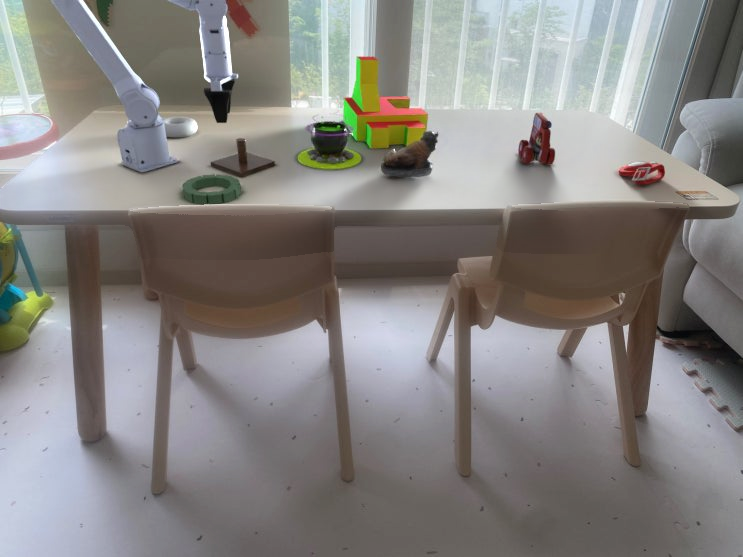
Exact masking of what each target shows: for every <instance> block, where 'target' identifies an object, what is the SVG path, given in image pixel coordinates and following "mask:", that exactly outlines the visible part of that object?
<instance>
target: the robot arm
mask: <svg viewBox="0 0 743 557" xmlns="http://www.w3.org/2000/svg"><path fill="white" fill-rule="evenodd" d="M50 2H51V3H52V4H53V6H54V7H55V8H56V10H57V11H58V13H60V15H61V17H62V19H64V21H65V22H66V23H67V25H68V26H69V28H70V29H71V30H72V31H73V33H74V35H76V37H77V38H78V39H79V41H80V42H81V44H82V45H83V47H85V49H86V50H87V52H88V53H89V55H90V56H91V57H92V58H93V60H94V62H95V63H96V64H97V65H98V67H99V68H100V69H101V70H102V72H103V74H104V75H105V76H106V77H107V79H108V80H109V81H110V83H111V84H112V86H113V88H114V89H115V90H114V91H115V93H116V95H117V97H118V99H119V101H121V103H122V105H123V108H124V112H125V115H126V117H127V125H125V126H124V127H122V128H119V129H118V131H117V134H116V135H117V137H116V138H117V143H118V146H119V151H120V156H121V160H122V161H121V162H120V164H121V165H122V166H125V167H127V168H129V169H132V170H134V171H137V172H139V173H146V172H150V171H152V170H156V169H159V168H163V167H166V166H169V165H172V164H176V163H179V162H180V161H179V159H178V158H175V157H172V156H171V155H170V149H169V145H168V144H169V143H168V139H167V138H168V137H166V132H165V126H164V120H163V119H164V118H163V117H162V116H161V115H160V114H159V108H160V105H161V102H160V98H159V95H158V92H156V91H155V90H154V89H153V88H151V87H149V86H148V85H146V84H145V82H144V81H143V79H142V78H141V77H140V76H139V75H137V73H135V72H134V70H133V69H132V67H131V66H130V65H129V63H128V62H127V60H126V59H125V58H124V56H123V55H122V54H121V52H120V50H119V49H118V48H117V46H116V45H115V43H114V42H113V40H112V39H111V38H110V36H109V35H108V34H107V31H106V30H105V29H104V28H103V27H102V25H101V24H100V22H99V21H98V19H97V18H96V16H95V15H94V13H93V12H92V10H90V8H89V6H88V5H87V3H86V2H85V1H84V0H50ZM167 2H169V3H172V4H175V5H177V6H179V7H181V8H184V9H186V10H188V11H197V13H198V18H199V28H198V30H199V37H200V38H199V39H200V46H201V55H202V56H201V57H202V64H203V72H204V73H203V78H204V79H205V80H206V81H207V83H208V84H209V85H210V87H209V88H208V87H205V88H203V94H204V96H205V97H206V99H207V101H208V102H209V105H210V107H211V110H212V113H213V116H214V119H215V122H216V124H227V122H228V116H229V115H228V114H230V112H231V103H232V94H233V88H234V85H235V82H236V79H239V73H233V67H232V56H231V45H230V44H231V43H230V35H229V34H230V33H229V28H228V26H227V24H228V20H227V19H228V18H227V17H226V14H227V13H228V4H227V2H226V0H167Z"/></svg>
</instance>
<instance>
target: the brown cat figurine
mask: <svg viewBox="0 0 743 557" xmlns="http://www.w3.org/2000/svg"><path fill="white" fill-rule="evenodd" d="M438 137H439V131H436V132H434V131H433V130H427V131H426V132H425V131H424V132H423V137H422V138H420V140H421V141H415V142H413V143H411V144H410V145H408V146H407V147H406V146H405V147H403V148H401V149H399V150H398V151H396V150H395V148H392V149H391V150H390V151H388V152H387V153H386V154H385V156H384V158H383V162H382V163H381V164H380V171H381V172H382V173H383V175H387V176H392V177H397V178H398V177H399V178H419V177H427V176H430V175H431V174H432V171H433V167H434V164H433V162H431V160H430V159H429V158H430V156H431V154H432V153H433V152H434V151H436V149H437V147H436V146H437V144H438V143H439V140H438Z"/></svg>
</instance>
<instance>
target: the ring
mask: <svg viewBox="0 0 743 557" xmlns="http://www.w3.org/2000/svg"><path fill="white" fill-rule="evenodd" d="M215 186H217V187H224V189H221V190H216V191H200V190H199V189H202V188H205V187H215ZM181 188H182V194H183V198H184V200H187V201H188V202H190V203H191V204H192V203H194V204H199V205H217V204H223V203H227V202H230V201H233V200H235V199H237V198H238V197H239V196H240V195H241V194H242V185H241V182H240V180H239V179H238V178H237V177H234V176H232V175H228V174H218V173H217V174H215V173H213V174H203V175H197V176H195V177H192V178H189V179H187V180H186V181H184V182H183V183H182V184H181Z"/></svg>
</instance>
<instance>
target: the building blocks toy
mask: <svg viewBox="0 0 743 557" xmlns="http://www.w3.org/2000/svg"><path fill="white" fill-rule="evenodd" d="M378 78H379V59H378V58H376V57H375V56H356V58H355V81H354V86H353V90H352V95H351V97H347V96H346V97H344V96H343V105H342V106H343V107H342V108H343V110H342V112H343V114H342V118H343V120H342V121H343V123H345V124H346V125H347V124H348V126H349V125H350V126H352V127H353V128H355V129H353V128H351V129H353V130H354V132H352V131H353V130H352V131H351V134H352V137H353V138H354V140H355V142H365V143H366V144H367V146H368V147H369V149H389V147H390V146H391V145H403V146H405V147H407V146H408V145H410V144H411V143H413V142H415V141H421V140H420V138H422V137H423V132H424V131H425V132H428V121H429V120H428V119H429V113H428V112H427V111H425V110H424V109H422V107H414V108H413V107H412V108H411V107H410V106H411V98H410V97H409V96H380V93H379V85H378V81H379V80H378ZM343 116H345V117H343ZM345 118H347V119H345ZM344 120H345V121H344ZM347 130H348V131H350V130H349V128H348V127H347Z"/></svg>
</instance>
